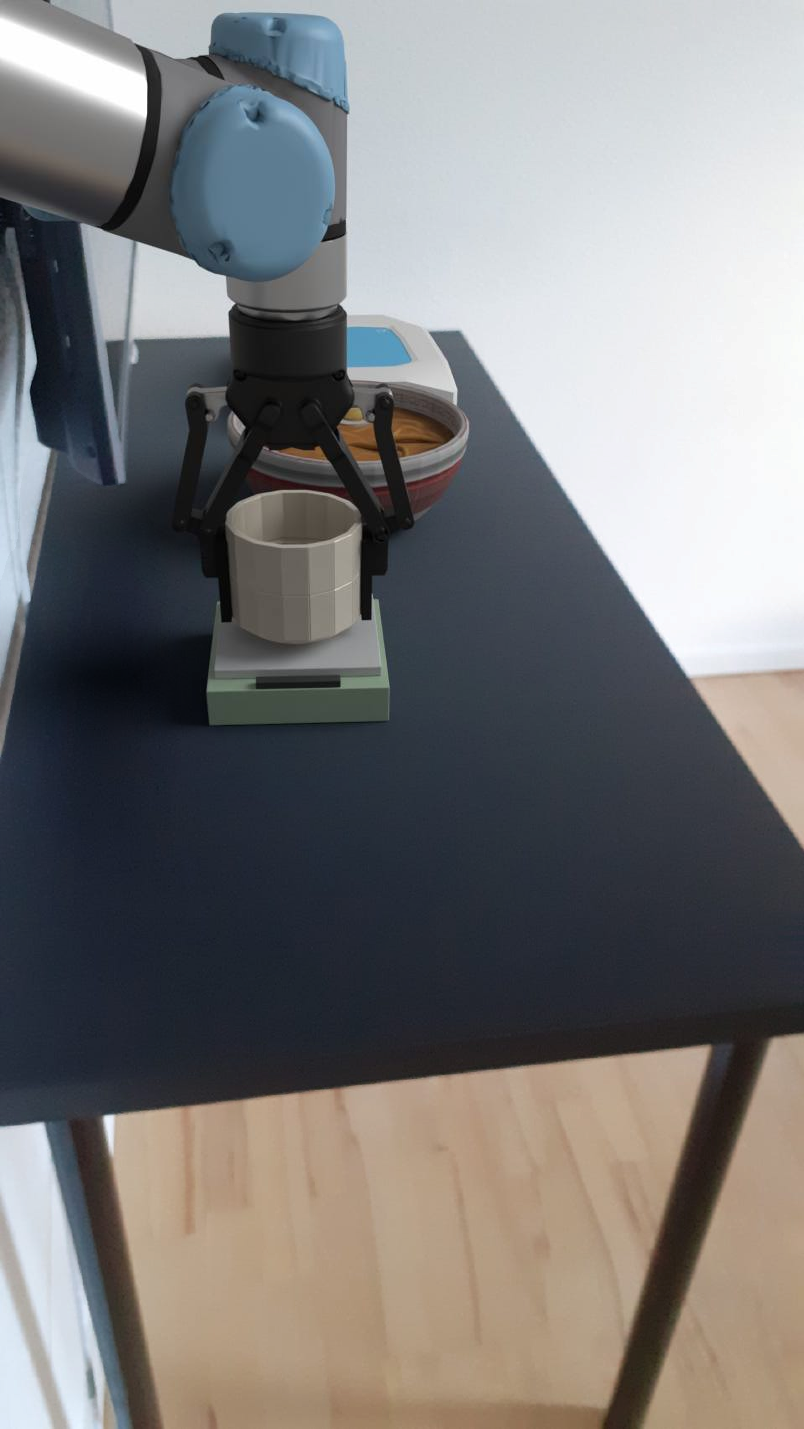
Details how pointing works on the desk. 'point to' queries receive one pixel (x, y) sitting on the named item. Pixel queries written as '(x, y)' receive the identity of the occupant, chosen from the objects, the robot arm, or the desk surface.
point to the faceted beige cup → (294, 565)
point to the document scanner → (397, 355)
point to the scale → (298, 676)
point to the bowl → (374, 451)
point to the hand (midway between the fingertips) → (297, 612)
